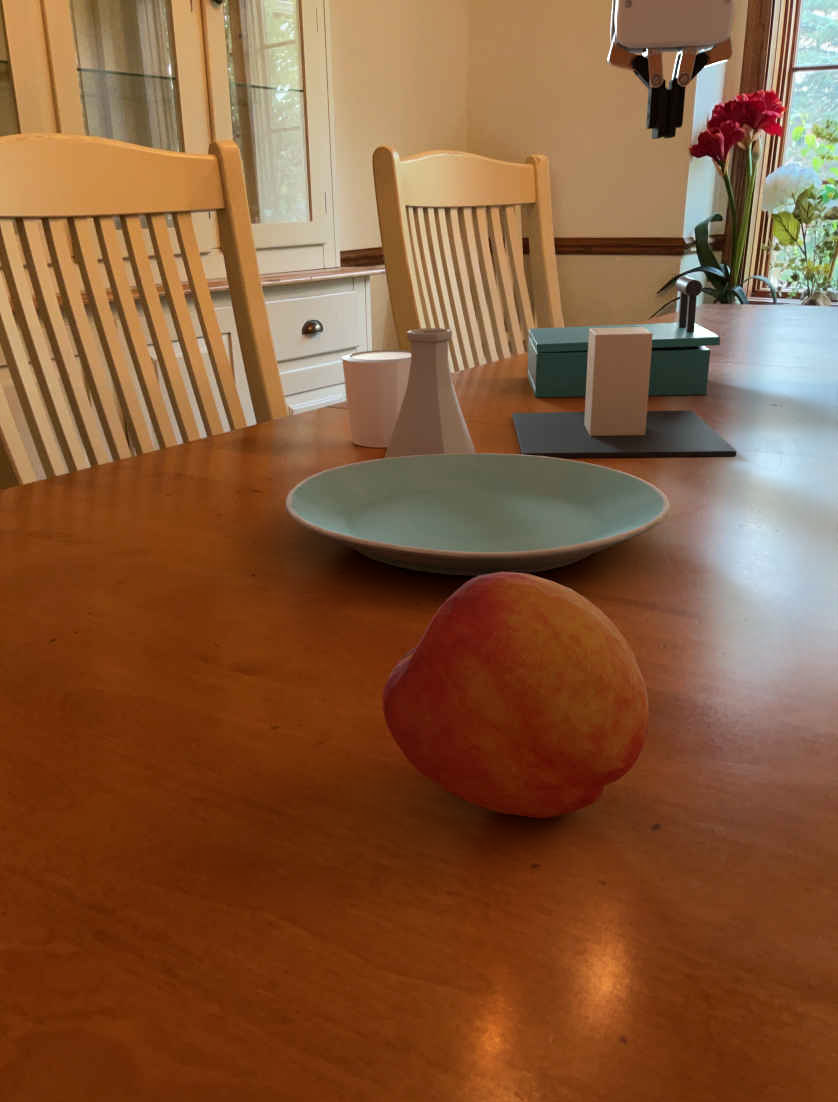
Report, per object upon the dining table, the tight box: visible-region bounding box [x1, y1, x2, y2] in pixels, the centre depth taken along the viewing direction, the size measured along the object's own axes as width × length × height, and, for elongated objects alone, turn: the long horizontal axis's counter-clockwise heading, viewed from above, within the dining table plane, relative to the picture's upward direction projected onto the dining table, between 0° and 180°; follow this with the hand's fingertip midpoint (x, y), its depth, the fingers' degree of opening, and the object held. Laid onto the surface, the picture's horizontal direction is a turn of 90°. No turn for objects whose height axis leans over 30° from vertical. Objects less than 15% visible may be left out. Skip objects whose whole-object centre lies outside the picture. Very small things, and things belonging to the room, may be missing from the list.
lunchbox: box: [526, 336, 711, 398], centre depth 108 cm, size 17×13×4 cm
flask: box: [384, 327, 477, 458], centre depth 76 cm, size 7×7×10 cm
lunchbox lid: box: [528, 275, 721, 353], centre depth 106 cm, size 17×13×6 cm
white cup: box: [341, 349, 411, 449], centre depth 86 cm, size 7×7×7 cm
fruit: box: [381, 572, 650, 819], centre depth 34 cm, size 8×8×8 cm
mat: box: [512, 409, 737, 459], centre depth 87 cm, size 16×16×1 cm
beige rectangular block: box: [584, 327, 653, 436], centre depth 85 cm, size 4×4×8 cm
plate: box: [284, 452, 671, 577], centre depth 62 cm, size 22×22×3 cm
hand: (663, 137), depth 95 cm, fingers closed
